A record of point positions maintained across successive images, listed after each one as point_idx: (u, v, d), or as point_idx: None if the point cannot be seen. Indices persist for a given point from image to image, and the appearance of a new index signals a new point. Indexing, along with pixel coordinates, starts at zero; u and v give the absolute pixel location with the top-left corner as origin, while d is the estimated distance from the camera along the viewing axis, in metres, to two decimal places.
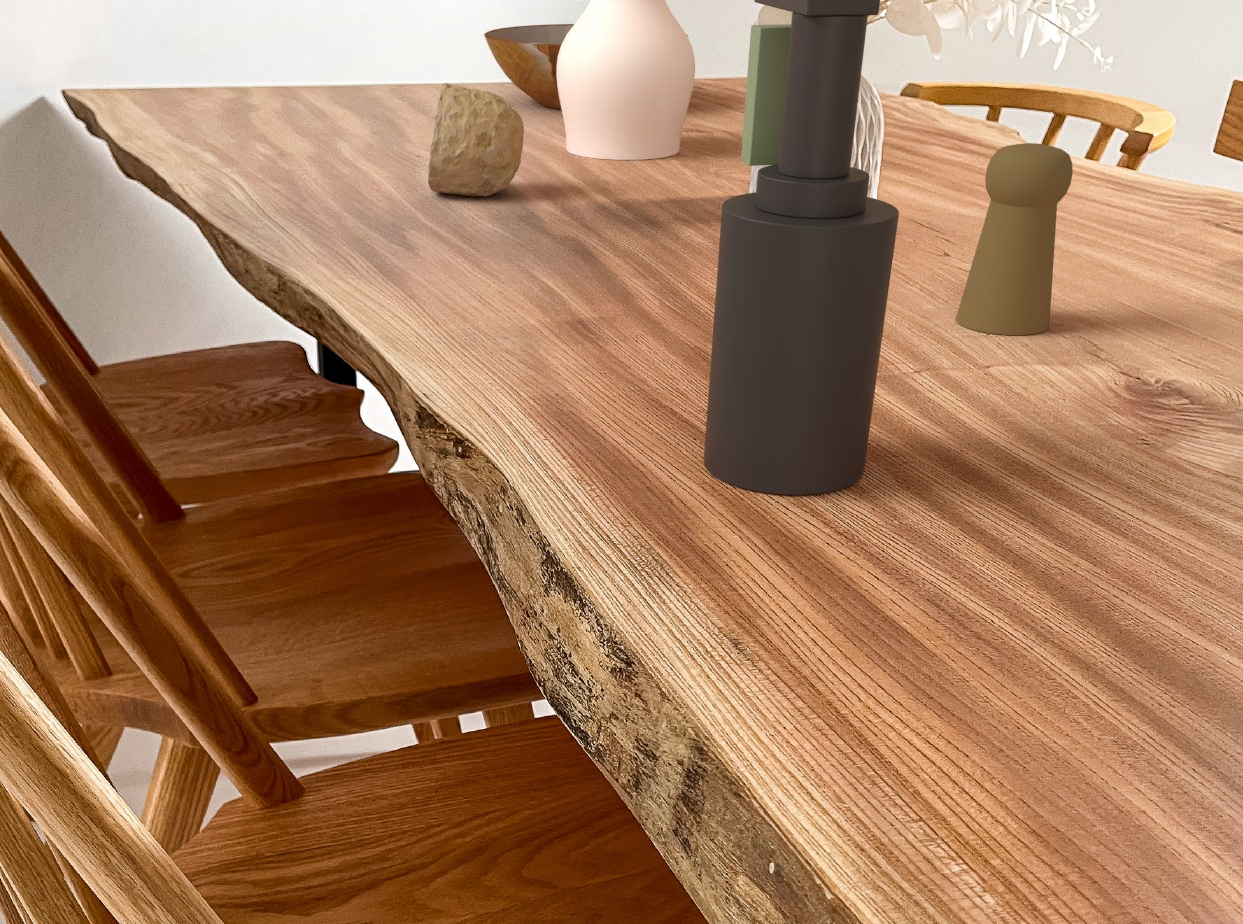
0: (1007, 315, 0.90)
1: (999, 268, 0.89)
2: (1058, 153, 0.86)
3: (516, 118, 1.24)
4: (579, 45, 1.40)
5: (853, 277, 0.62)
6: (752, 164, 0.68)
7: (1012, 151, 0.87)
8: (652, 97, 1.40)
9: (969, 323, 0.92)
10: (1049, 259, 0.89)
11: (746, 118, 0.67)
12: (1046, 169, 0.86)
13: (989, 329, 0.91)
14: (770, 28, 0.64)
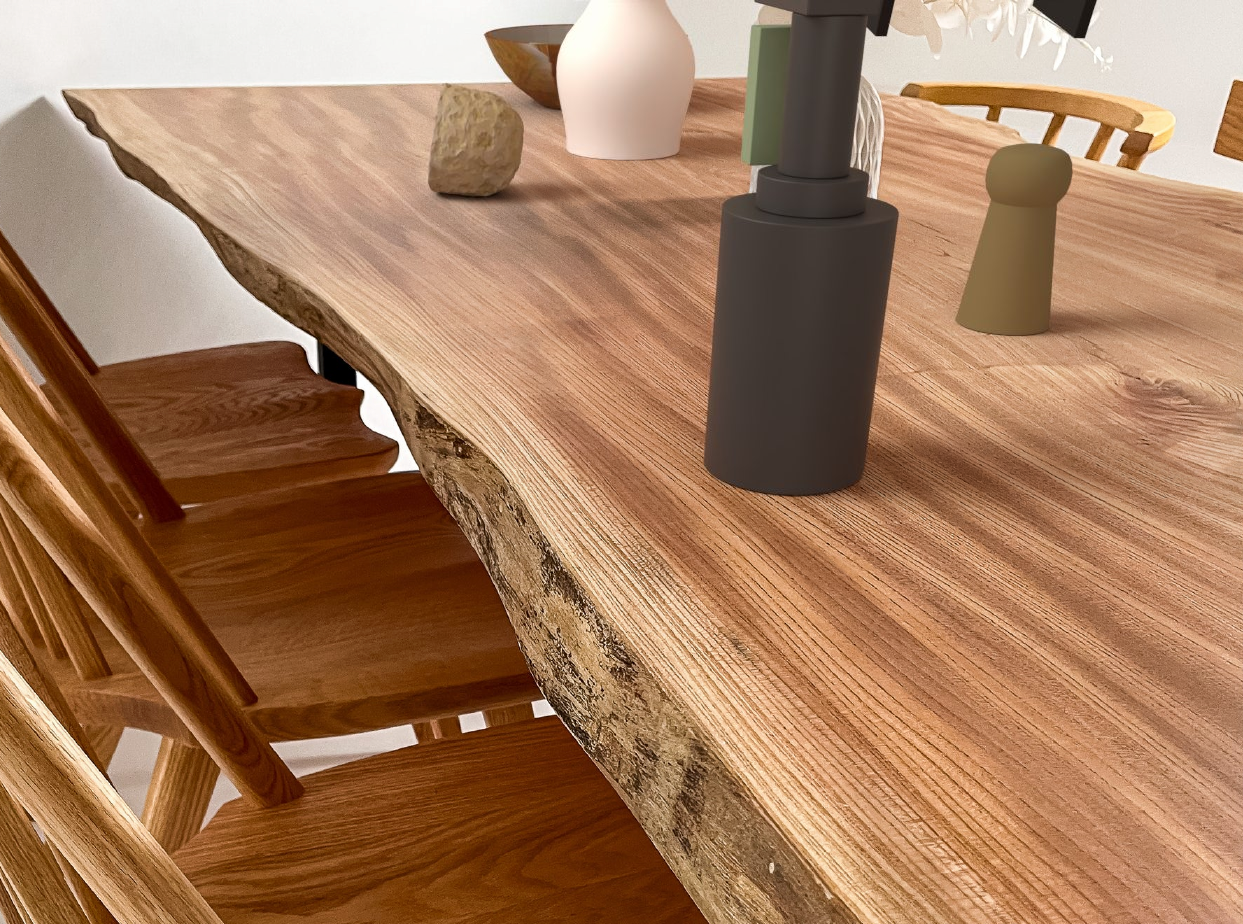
0: (1007, 315, 0.90)
1: (999, 268, 0.89)
2: (1058, 153, 0.86)
3: (516, 118, 1.24)
4: (579, 45, 1.40)
5: (853, 277, 0.62)
6: (752, 164, 0.68)
7: (1012, 151, 0.87)
8: (652, 97, 1.40)
9: (969, 323, 0.92)
10: (1049, 259, 0.89)
11: (746, 118, 0.67)
12: (1046, 169, 0.86)
13: (989, 329, 0.91)
14: (770, 28, 0.64)
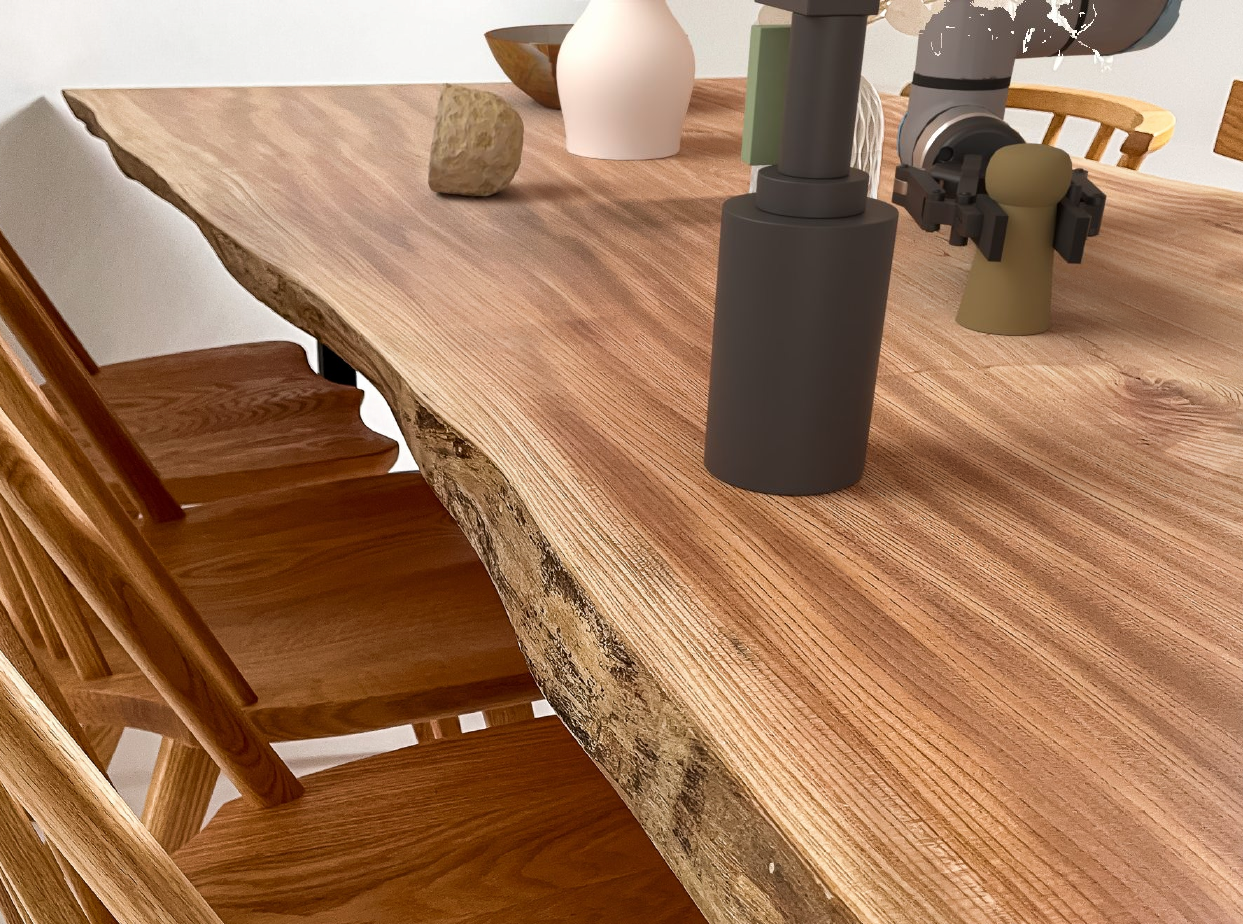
0: (1007, 315, 0.90)
1: (999, 268, 0.89)
2: (1058, 153, 0.86)
3: (516, 118, 1.24)
4: (579, 45, 1.40)
5: (853, 277, 0.62)
6: (752, 164, 0.68)
7: (1012, 151, 0.87)
8: (652, 97, 1.40)
9: (969, 323, 0.92)
10: (1049, 259, 0.89)
11: (746, 118, 0.67)
12: (1046, 169, 0.86)
13: (989, 329, 0.91)
14: (770, 28, 0.64)
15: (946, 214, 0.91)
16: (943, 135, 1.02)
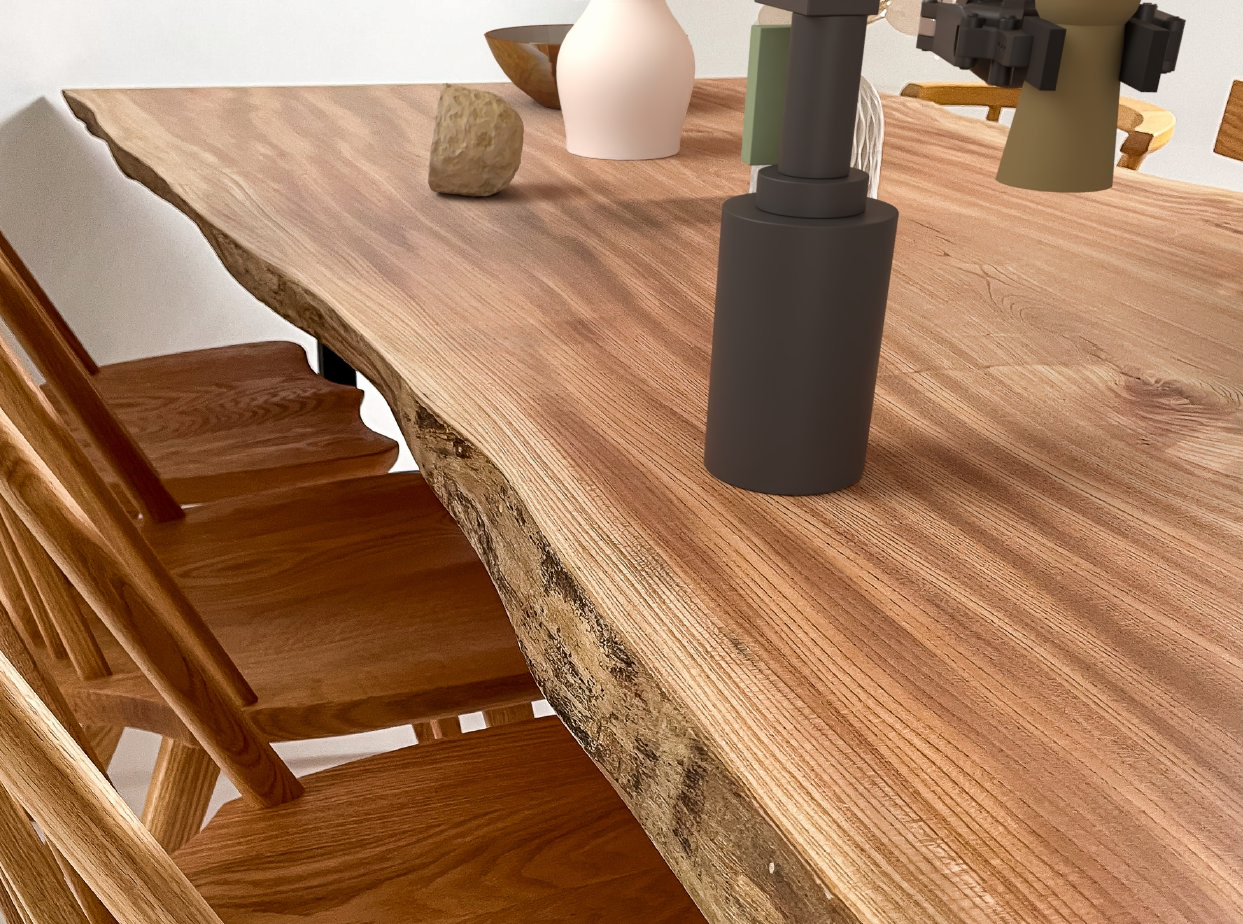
0: (1061, 167, 0.72)
1: (1052, 107, 0.71)
2: None
3: (516, 118, 1.24)
4: (579, 45, 1.40)
5: (853, 277, 0.62)
6: (752, 164, 0.68)
7: None
8: (652, 97, 1.40)
9: (1013, 180, 0.74)
10: (1115, 95, 0.71)
11: (746, 118, 0.67)
12: None
13: (1038, 186, 0.73)
14: (770, 28, 0.64)
15: (985, 44, 0.73)
16: None
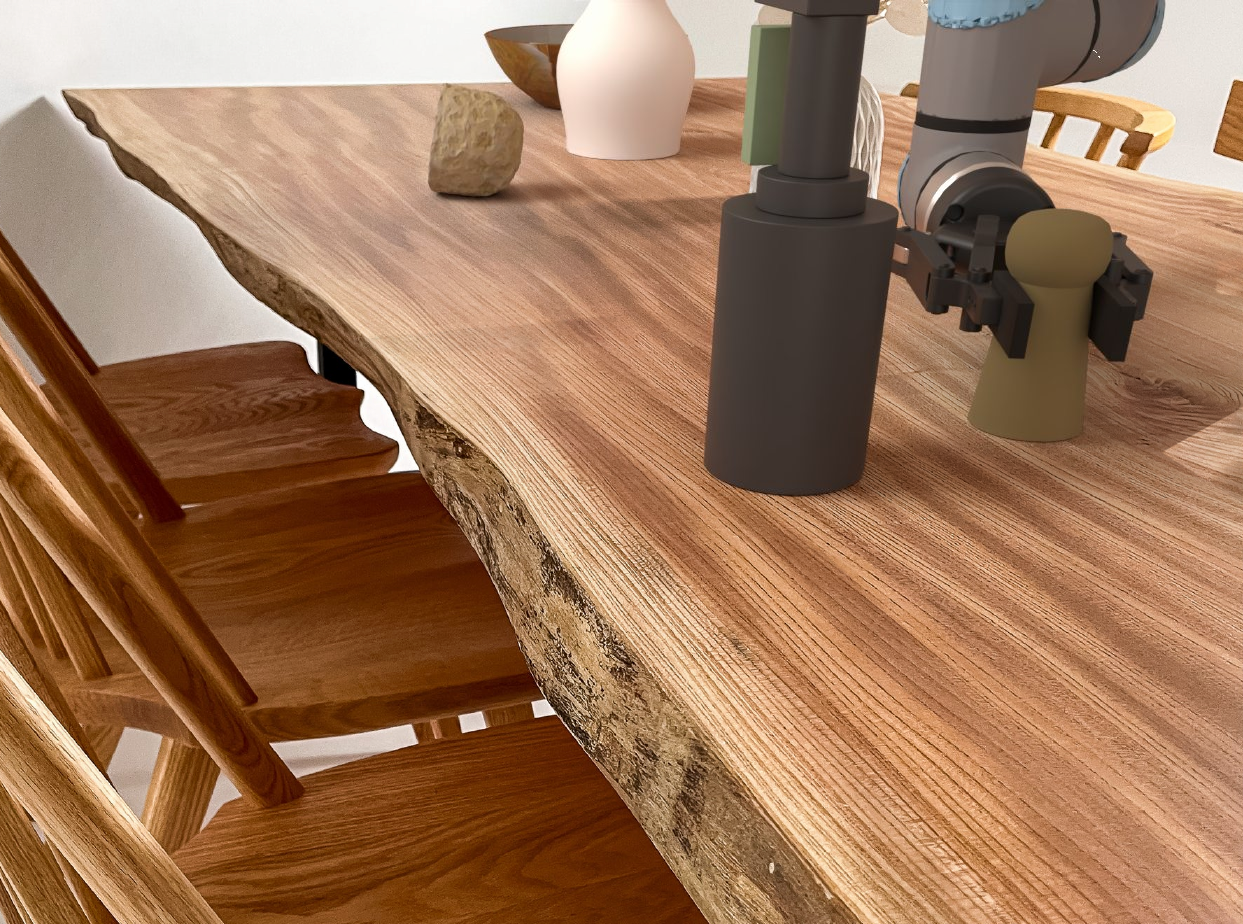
0: (1031, 418, 0.73)
1: (1022, 361, 0.73)
2: (1096, 222, 0.70)
3: (516, 118, 1.24)
4: (579, 45, 1.40)
5: (853, 277, 0.62)
6: (752, 164, 0.68)
7: (1038, 219, 0.70)
8: (652, 97, 1.40)
9: (984, 425, 0.75)
10: (1084, 350, 0.72)
11: (746, 118, 0.67)
12: (1082, 243, 0.69)
13: (1009, 434, 0.74)
14: (770, 28, 0.64)
15: (956, 294, 0.75)
16: (952, 189, 0.85)
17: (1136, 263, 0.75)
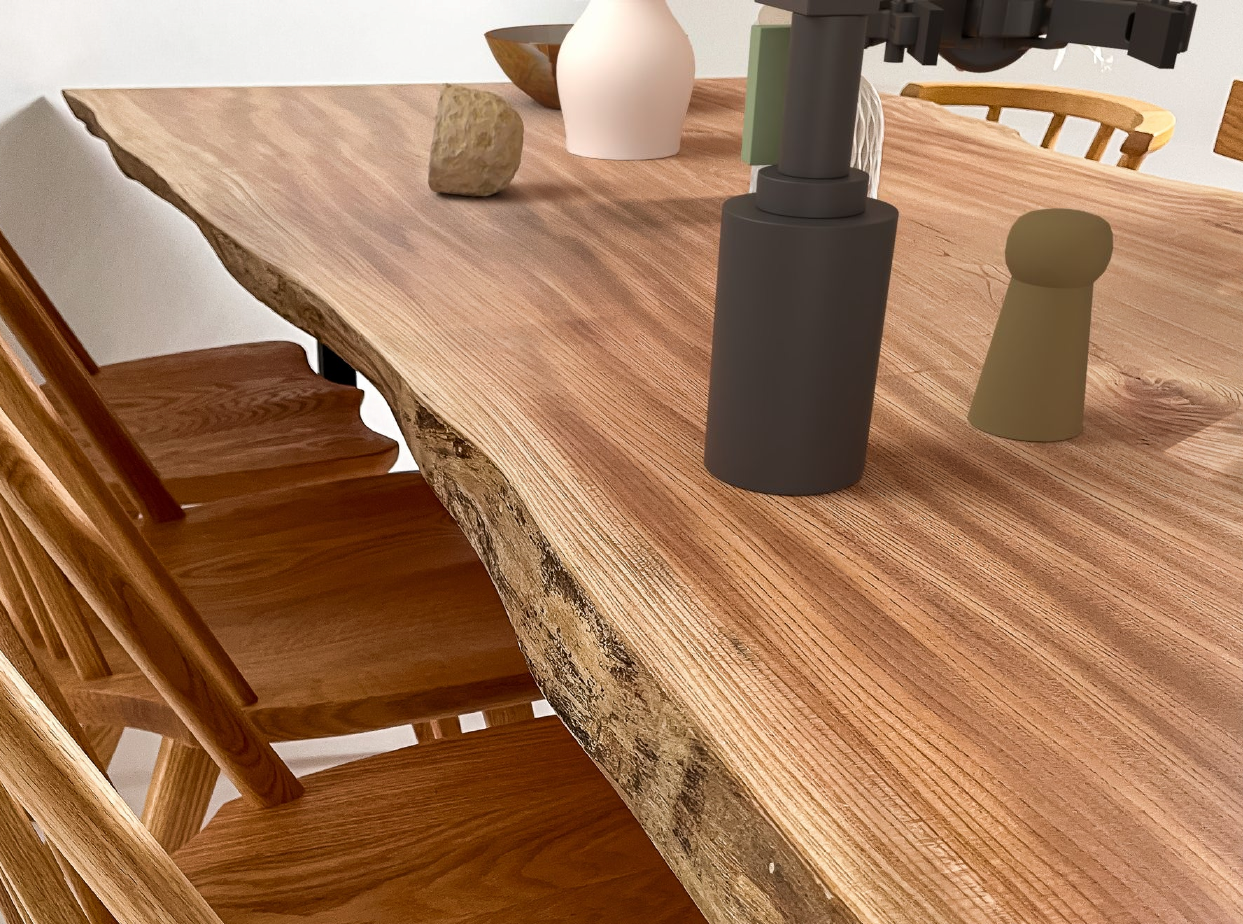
0: (1031, 418, 0.73)
1: (1022, 361, 0.73)
2: (1095, 222, 0.70)
3: (516, 118, 1.24)
4: (579, 45, 1.40)
5: (853, 277, 0.62)
6: (752, 164, 0.68)
7: (1038, 219, 0.70)
8: (652, 97, 1.40)
9: (984, 425, 0.75)
10: (1084, 350, 0.72)
11: (746, 118, 0.67)
12: (1082, 243, 0.69)
13: (1009, 434, 0.74)
14: (770, 28, 0.64)
15: (880, 25, 0.81)
16: None
17: None
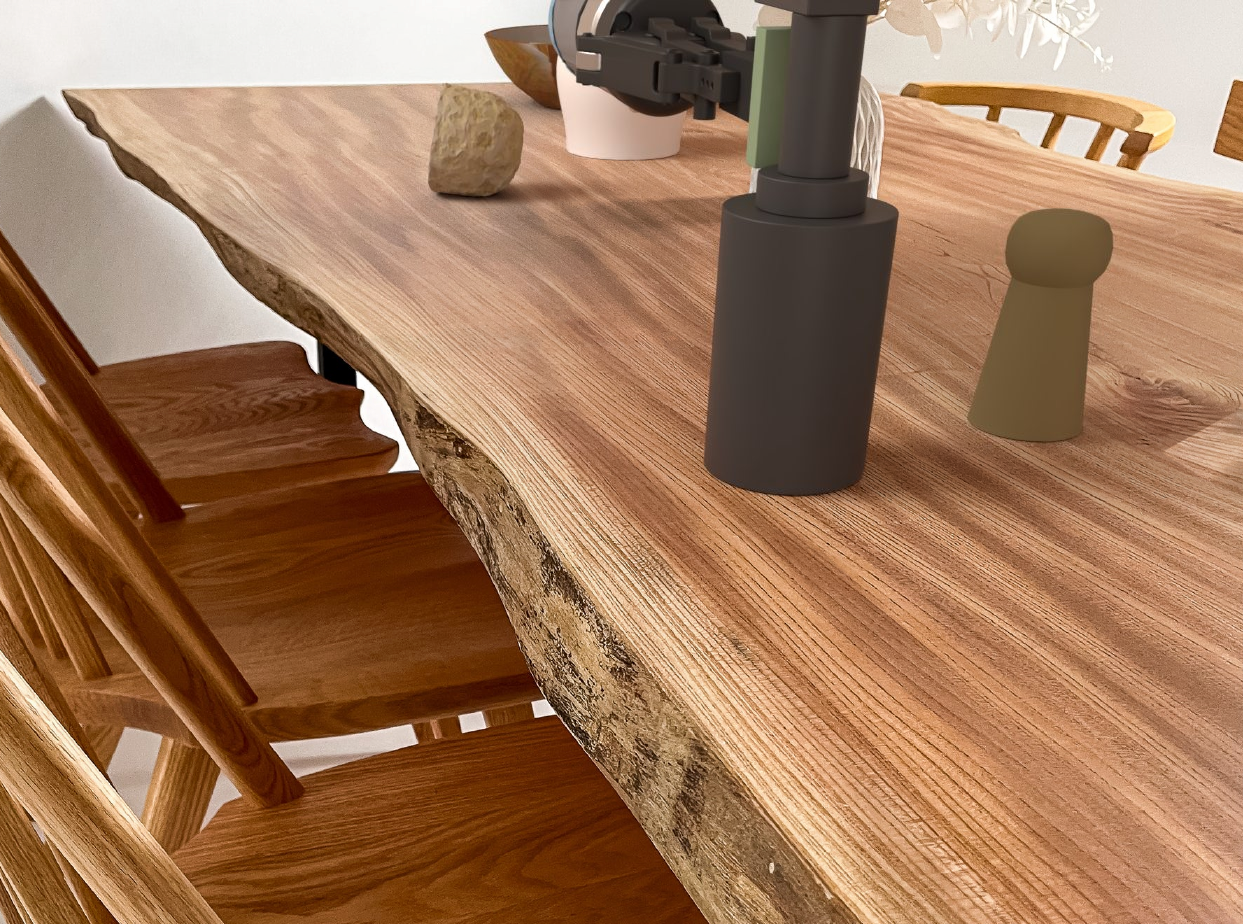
0: (1031, 418, 0.73)
1: (1022, 361, 0.73)
2: (1095, 222, 0.70)
3: (516, 118, 1.24)
4: None
5: (853, 277, 0.62)
6: (757, 167, 0.67)
7: (1038, 219, 0.70)
8: None
9: (984, 425, 0.75)
10: (1084, 350, 0.72)
11: (751, 121, 0.67)
12: (1082, 243, 0.69)
13: (1009, 434, 0.74)
14: (775, 30, 0.64)
15: (687, 80, 0.72)
16: (616, 0, 0.83)
17: None
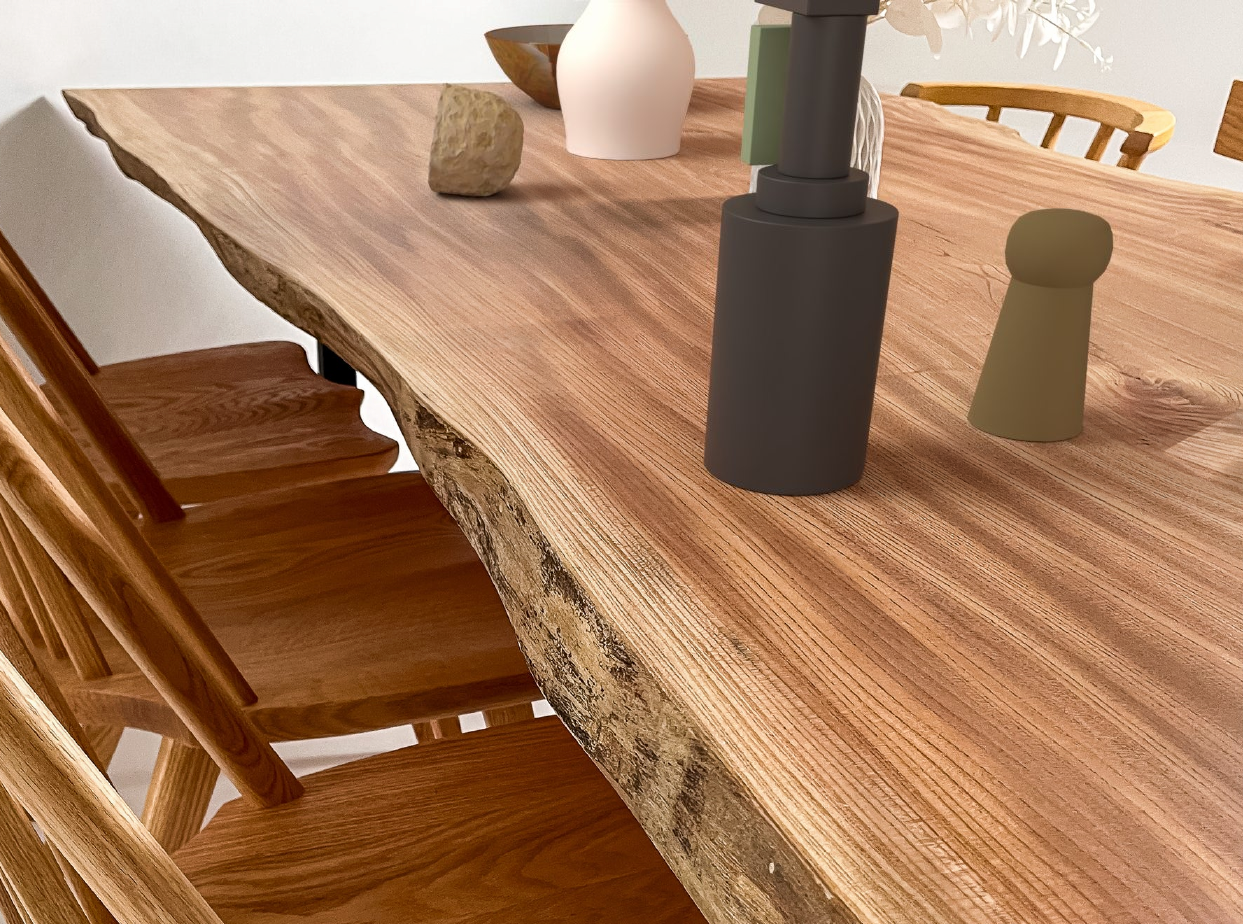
0: (1031, 418, 0.73)
1: (1022, 361, 0.73)
2: (1095, 222, 0.70)
3: (516, 118, 1.24)
4: (579, 45, 1.40)
5: (853, 277, 0.62)
6: (752, 164, 0.68)
7: (1038, 219, 0.70)
8: (652, 97, 1.40)
9: (984, 425, 0.75)
10: (1084, 350, 0.72)
11: (745, 118, 0.67)
12: (1082, 243, 0.69)
13: (1009, 434, 0.74)
14: (769, 28, 0.65)
15: None
16: None
17: None
